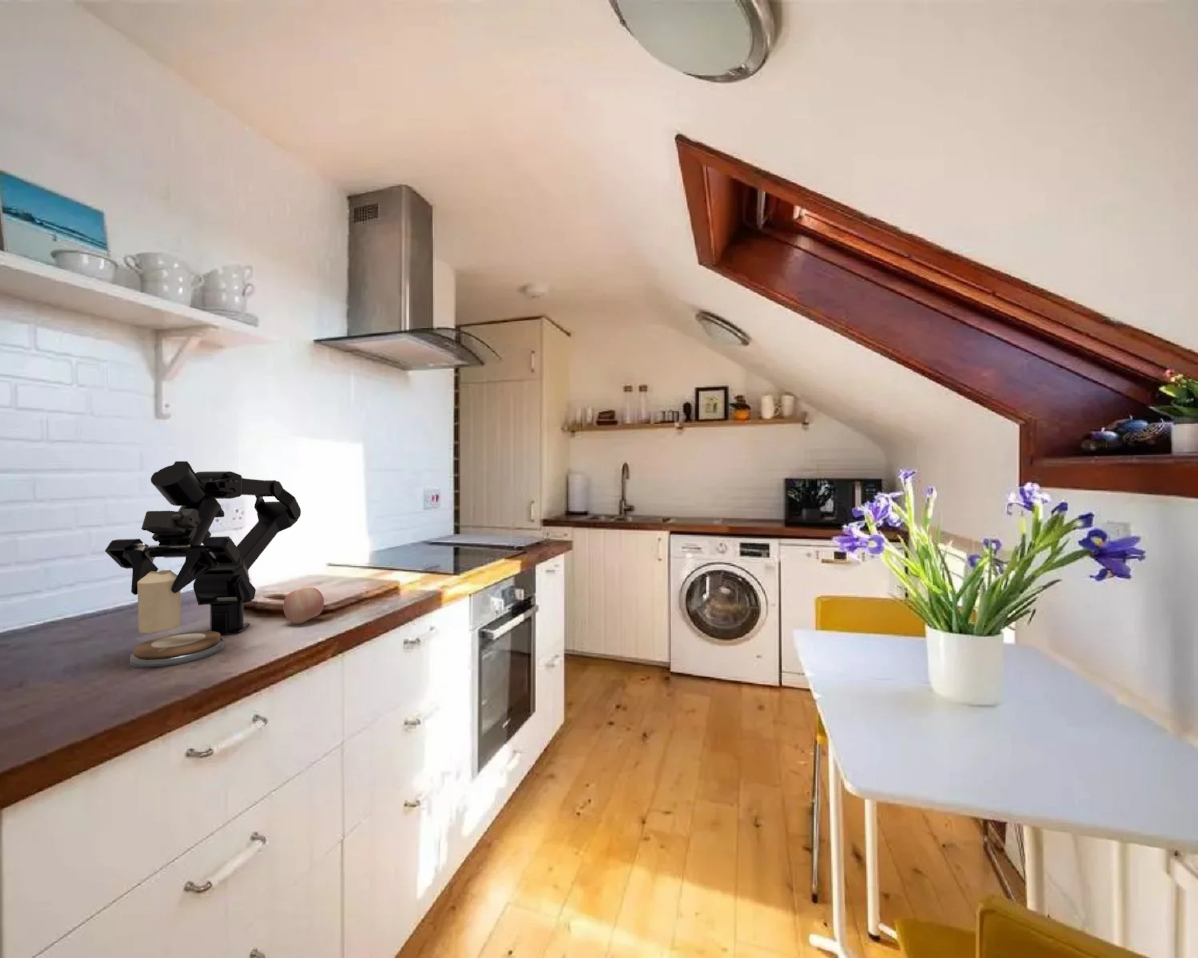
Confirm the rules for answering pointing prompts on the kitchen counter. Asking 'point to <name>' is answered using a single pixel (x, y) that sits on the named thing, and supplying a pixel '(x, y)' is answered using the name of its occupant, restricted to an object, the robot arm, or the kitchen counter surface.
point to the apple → (303, 605)
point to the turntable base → (176, 658)
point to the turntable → (176, 644)
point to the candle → (158, 602)
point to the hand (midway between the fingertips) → (153, 592)
